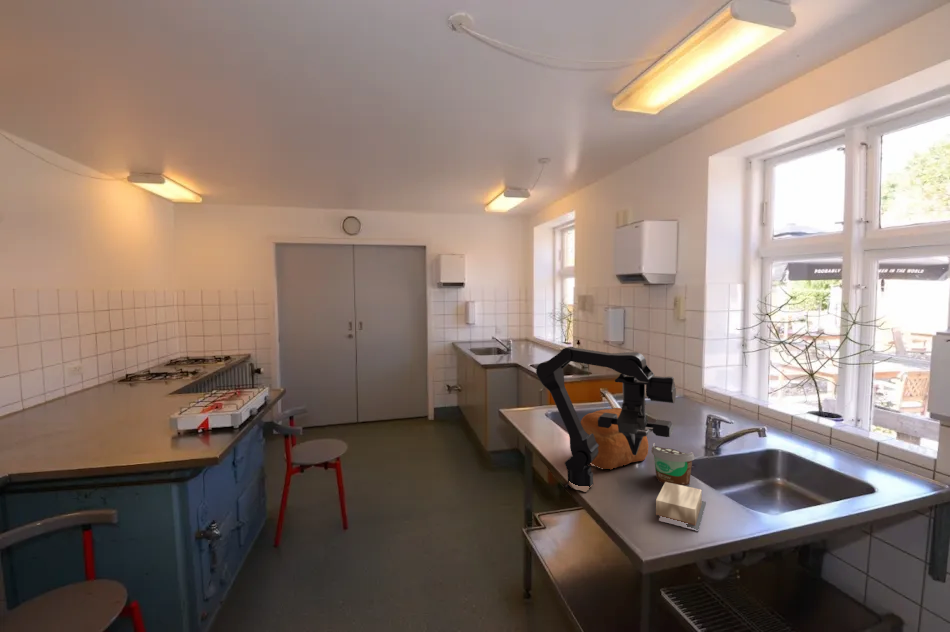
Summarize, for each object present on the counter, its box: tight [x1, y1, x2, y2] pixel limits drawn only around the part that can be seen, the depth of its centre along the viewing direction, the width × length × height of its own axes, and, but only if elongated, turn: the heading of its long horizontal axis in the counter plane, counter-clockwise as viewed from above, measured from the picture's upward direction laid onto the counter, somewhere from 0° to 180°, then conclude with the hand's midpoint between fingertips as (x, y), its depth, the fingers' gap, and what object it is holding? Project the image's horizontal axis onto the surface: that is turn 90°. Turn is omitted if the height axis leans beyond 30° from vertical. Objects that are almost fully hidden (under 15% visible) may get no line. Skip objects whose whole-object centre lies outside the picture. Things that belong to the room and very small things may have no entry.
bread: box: [580, 407, 649, 470], centre depth 144 cm, size 18×21×17 cm
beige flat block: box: [655, 482, 703, 525], centre depth 109 cm, size 4×12×9 cm
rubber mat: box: [686, 500, 707, 531], centre depth 109 cm, size 9×16×1 cm, turn 145°
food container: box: [651, 442, 695, 486], centre depth 125 cm, size 12×6×10 cm, turn 45°
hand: (634, 454), depth 115 cm, fingers closed
